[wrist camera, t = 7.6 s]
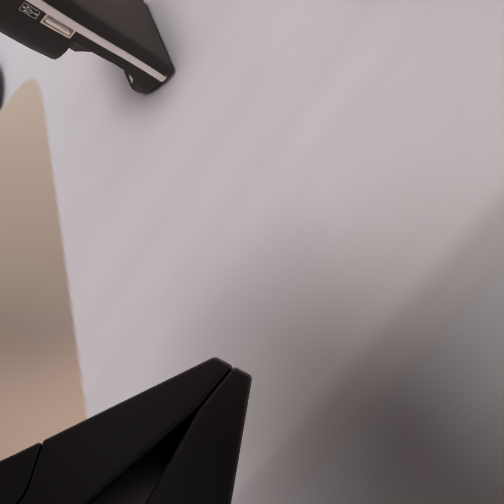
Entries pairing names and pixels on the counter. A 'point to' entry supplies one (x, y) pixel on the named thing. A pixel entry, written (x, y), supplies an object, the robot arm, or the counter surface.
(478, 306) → the counter surface
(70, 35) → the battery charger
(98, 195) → the counter surface
